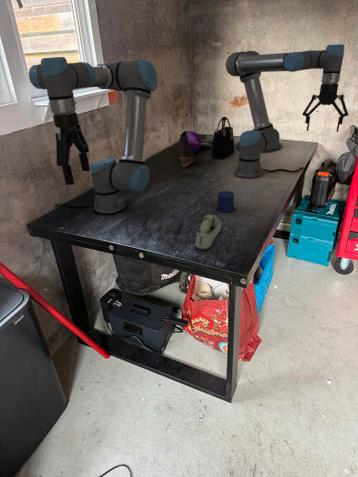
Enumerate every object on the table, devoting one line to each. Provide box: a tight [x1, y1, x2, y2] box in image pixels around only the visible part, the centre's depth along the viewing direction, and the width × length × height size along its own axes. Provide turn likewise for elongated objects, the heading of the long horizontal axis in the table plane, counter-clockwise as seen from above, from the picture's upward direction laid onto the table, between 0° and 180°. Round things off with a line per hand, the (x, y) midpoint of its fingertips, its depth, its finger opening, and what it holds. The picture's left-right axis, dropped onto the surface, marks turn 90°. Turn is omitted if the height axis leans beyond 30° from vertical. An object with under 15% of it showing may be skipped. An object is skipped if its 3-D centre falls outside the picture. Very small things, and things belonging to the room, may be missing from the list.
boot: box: [178, 130, 197, 169], centre depth 209 cm, size 9×24×20 cm, turn 168°
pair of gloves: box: [199, 134, 214, 149], centre depth 251 cm, size 30×26×5 cm
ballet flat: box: [194, 214, 223, 251], centre depth 128 cm, size 8×24×8 cm, turn 163°
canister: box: [217, 190, 235, 213], centre depth 149 cm, size 7×7×7 cm
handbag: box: [211, 116, 236, 160], centre depth 219 cm, size 21×9×25 cm, turn 148°
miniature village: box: [235, 141, 282, 154], centre depth 237 cm, size 32×35×9 cm
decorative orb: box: [178, 130, 201, 154], centre depth 230 cm, size 15×15×15 cm
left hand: (78, 177), depth 114 cm, fingers open, 13 cm apart
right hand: (322, 130), depth 162 cm, fingers open, 13 cm apart
